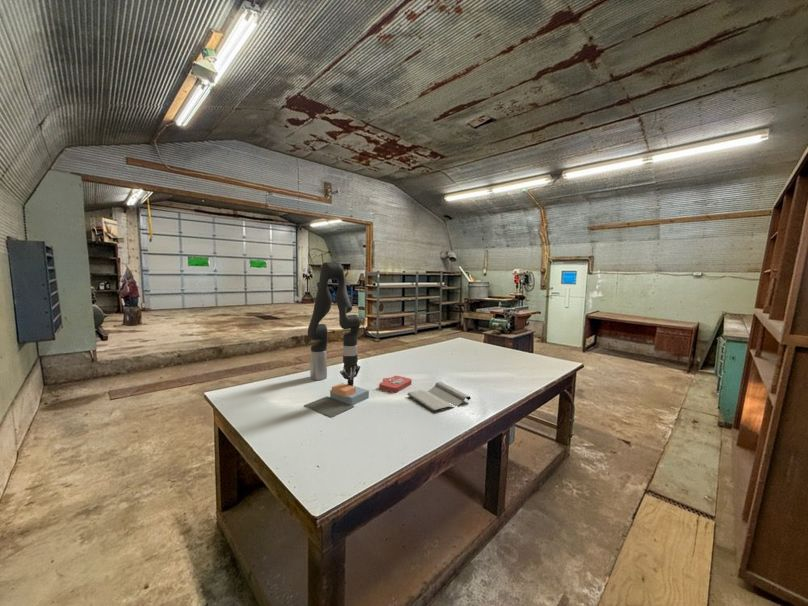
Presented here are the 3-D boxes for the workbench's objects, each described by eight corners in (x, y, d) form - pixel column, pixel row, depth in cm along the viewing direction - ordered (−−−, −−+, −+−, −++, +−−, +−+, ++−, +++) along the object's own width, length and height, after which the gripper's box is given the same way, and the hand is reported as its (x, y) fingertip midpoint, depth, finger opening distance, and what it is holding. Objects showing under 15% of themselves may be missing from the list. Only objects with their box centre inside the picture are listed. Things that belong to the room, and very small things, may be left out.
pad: (304, 405, 153) (304, 405, 153) (326, 396, 164) (326, 396, 164) (331, 417, 141) (331, 416, 141) (354, 407, 153) (354, 406, 152)
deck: (330, 397, 164) (330, 390, 163) (347, 390, 173) (347, 383, 173) (351, 405, 154) (351, 397, 154) (368, 397, 164) (368, 390, 163)
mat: (406, 397, 166) (406, 389, 165) (441, 389, 179) (441, 381, 178) (434, 414, 147) (434, 405, 146) (470, 403, 159) (471, 394, 159)
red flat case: (391, 373, 193) (412, 378, 185) (391, 379, 193) (412, 384, 185) (374, 381, 178) (395, 387, 170) (373, 388, 178) (395, 394, 170)
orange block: (331, 392, 160) (331, 386, 160) (342, 388, 166) (342, 383, 165) (345, 397, 154) (345, 391, 154) (355, 393, 160) (355, 387, 159)
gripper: (354, 349, 169) (354, 381, 171) (335, 355, 159) (335, 388, 160) (364, 352, 165) (364, 384, 167) (346, 357, 154) (346, 391, 156)
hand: (350, 386), depth 163 cm, fingers closed
